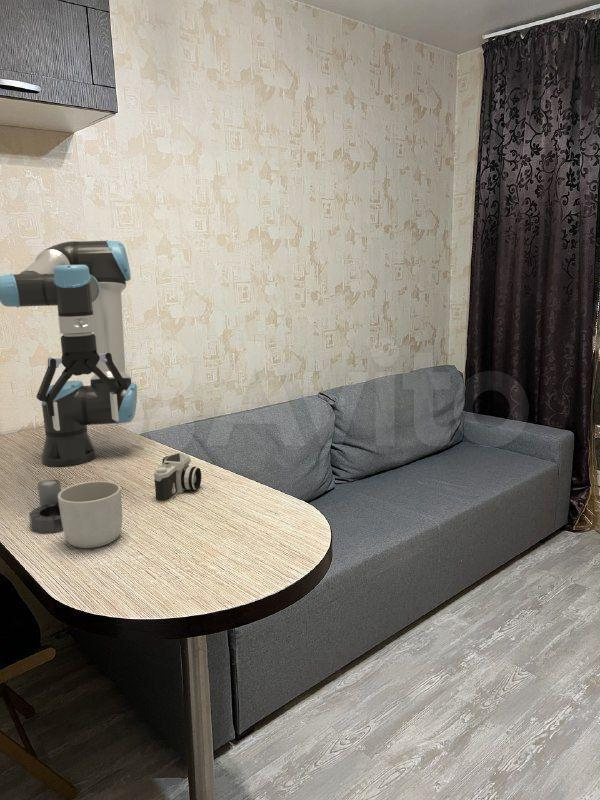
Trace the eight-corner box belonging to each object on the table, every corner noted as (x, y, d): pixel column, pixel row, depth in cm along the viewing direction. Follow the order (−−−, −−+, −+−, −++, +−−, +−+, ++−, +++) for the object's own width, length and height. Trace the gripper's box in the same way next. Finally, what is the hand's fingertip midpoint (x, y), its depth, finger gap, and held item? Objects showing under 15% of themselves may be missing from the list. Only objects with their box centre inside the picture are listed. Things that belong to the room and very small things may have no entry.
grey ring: (27, 520, 141) (26, 508, 140) (75, 510, 146) (74, 498, 145) (35, 537, 132) (34, 524, 131) (86, 525, 137) (85, 513, 137)
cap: (38, 505, 149) (35, 481, 148) (60, 501, 152) (57, 477, 151) (42, 512, 145) (39, 487, 144) (64, 508, 148) (62, 483, 146)
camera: (184, 505, 148) (181, 465, 146) (150, 503, 150) (147, 463, 148) (207, 482, 163) (205, 446, 161) (176, 480, 165) (174, 444, 163)
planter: (76, 527, 137) (71, 480, 134) (132, 527, 136) (128, 480, 134) (53, 553, 124) (47, 502, 122) (114, 553, 124) (109, 502, 122)
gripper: (22, 340, 131) (34, 437, 136) (136, 331, 145) (143, 419, 149) (15, 337, 137) (26, 430, 142) (125, 328, 151) (132, 413, 155)
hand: (86, 424), depth 145 cm, fingers open, 13 cm apart
